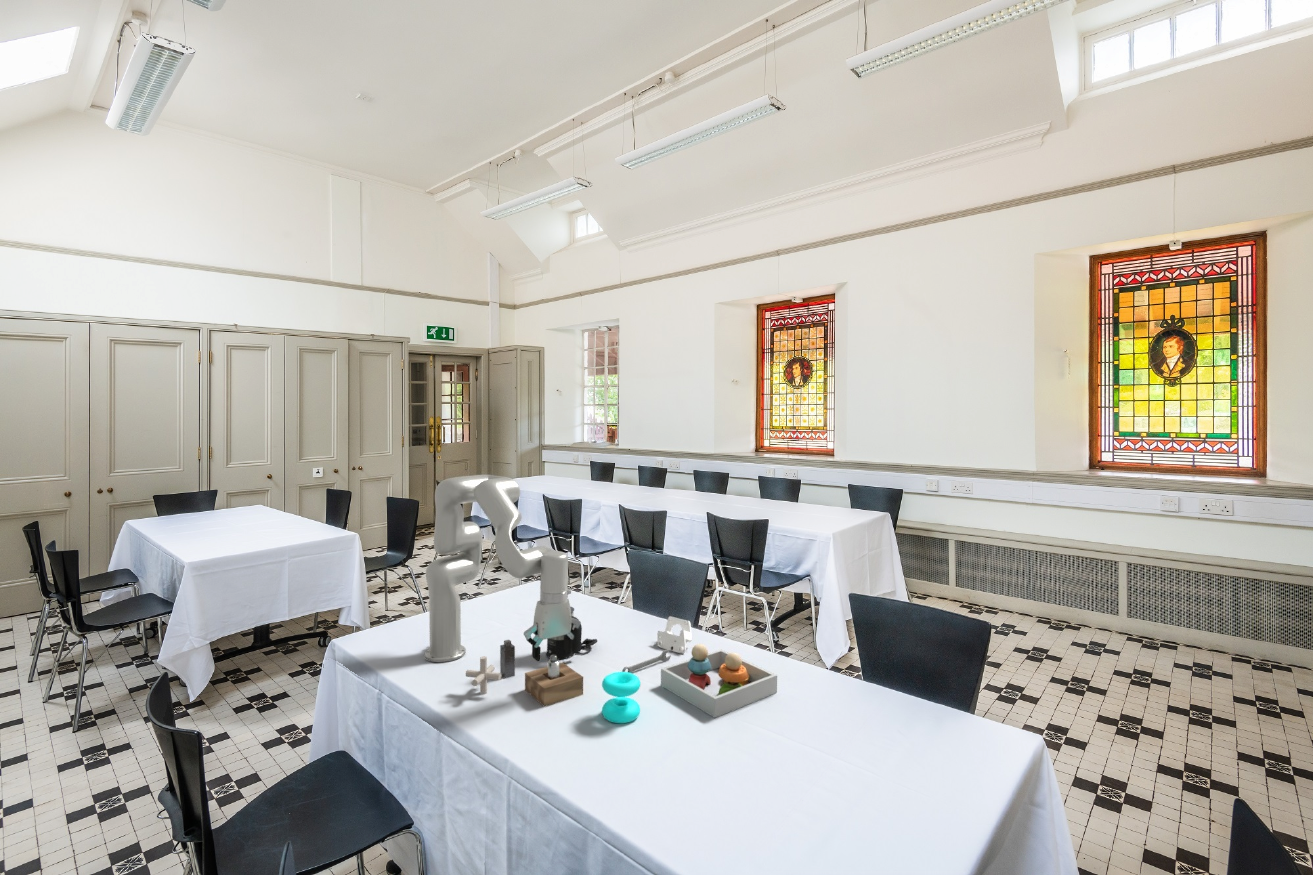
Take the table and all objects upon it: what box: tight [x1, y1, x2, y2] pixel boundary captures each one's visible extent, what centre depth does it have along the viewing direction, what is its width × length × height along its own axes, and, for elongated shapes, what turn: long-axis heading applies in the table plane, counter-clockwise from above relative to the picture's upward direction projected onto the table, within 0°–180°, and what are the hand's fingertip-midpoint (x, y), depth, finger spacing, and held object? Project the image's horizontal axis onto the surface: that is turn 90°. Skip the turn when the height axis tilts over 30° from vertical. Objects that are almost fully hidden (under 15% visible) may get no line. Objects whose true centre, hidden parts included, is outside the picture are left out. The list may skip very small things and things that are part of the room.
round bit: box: [547, 655, 560, 680], centre depth 170 cm, size 3×3×10 cm
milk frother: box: [545, 605, 598, 660], centre depth 199 cm, size 14×16×15 cm
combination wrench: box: [621, 649, 672, 673], centre depth 187 cm, size 4×1×20 cm
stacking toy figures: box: [687, 643, 749, 696], centre depth 175 cm, size 18×17×12 cm
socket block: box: [524, 662, 584, 707], centre depth 170 cm, size 12×12×5 cm
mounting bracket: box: [656, 615, 693, 654], centre depth 204 cm, size 12×6×11 cm, turn 54°
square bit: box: [499, 639, 516, 679], centre depth 181 cm, size 3×3×10 cm
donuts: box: [601, 671, 641, 724], centre depth 158 cm, size 10×10×10 cm
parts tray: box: [660, 649, 778, 719], centre depth 174 cm, size 23×24×5 cm
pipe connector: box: [465, 656, 502, 695], centre depth 170 cm, size 10×10×10 cm
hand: (552, 655), depth 170 cm, fingers open, 9 cm apart
